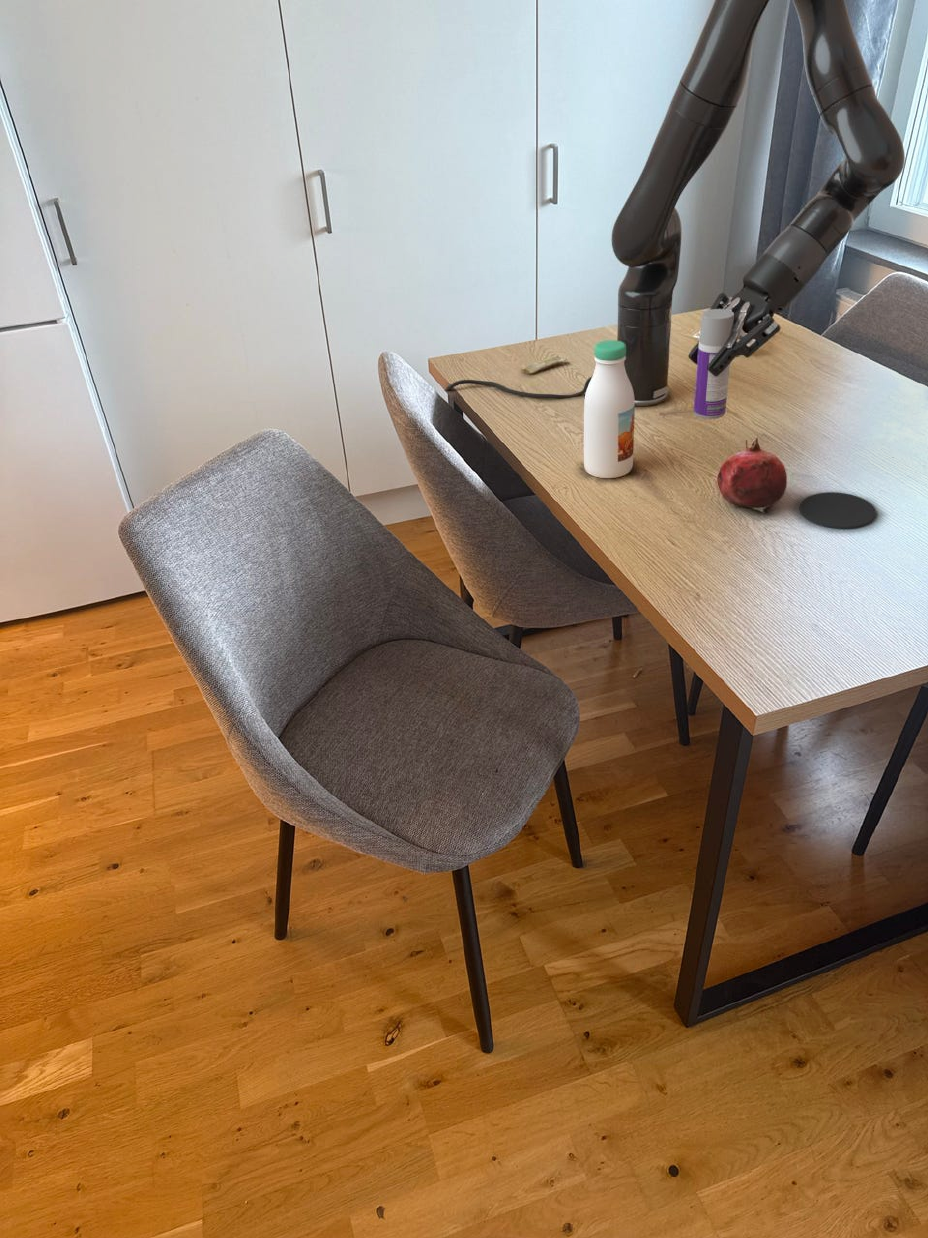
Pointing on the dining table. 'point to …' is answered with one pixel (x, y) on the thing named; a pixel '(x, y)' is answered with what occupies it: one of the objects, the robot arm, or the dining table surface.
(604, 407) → the milk bottle
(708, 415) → the container
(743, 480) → the fruit
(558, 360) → the snack bar
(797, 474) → the dining table surface
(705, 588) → the dining table surface
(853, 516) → the coaster
